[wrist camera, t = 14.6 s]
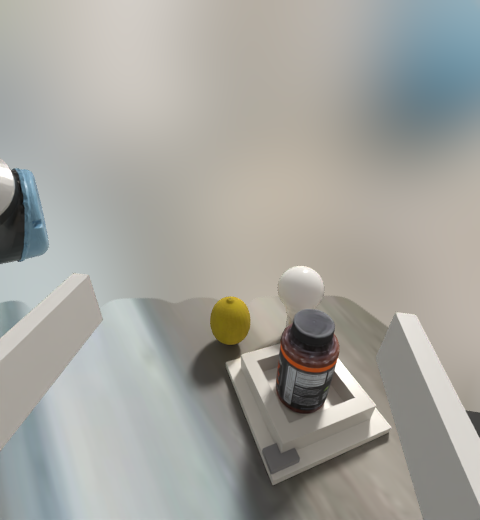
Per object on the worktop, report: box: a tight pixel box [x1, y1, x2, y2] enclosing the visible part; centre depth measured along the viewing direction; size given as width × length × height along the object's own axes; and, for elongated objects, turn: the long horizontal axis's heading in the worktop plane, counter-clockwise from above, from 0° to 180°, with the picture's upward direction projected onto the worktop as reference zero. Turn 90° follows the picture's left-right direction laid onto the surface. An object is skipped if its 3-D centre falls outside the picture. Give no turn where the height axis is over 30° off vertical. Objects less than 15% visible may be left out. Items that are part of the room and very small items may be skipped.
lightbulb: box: [278, 266, 324, 327], centre depth 41 cm, size 6×6×11 cm
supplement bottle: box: [276, 309, 339, 414], centre depth 31 cm, size 6×6×11 cm
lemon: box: [210, 297, 250, 345], centre depth 40 cm, size 6×6×8 cm
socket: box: [226, 343, 392, 486], centre depth 34 cm, size 14×14×4 cm
